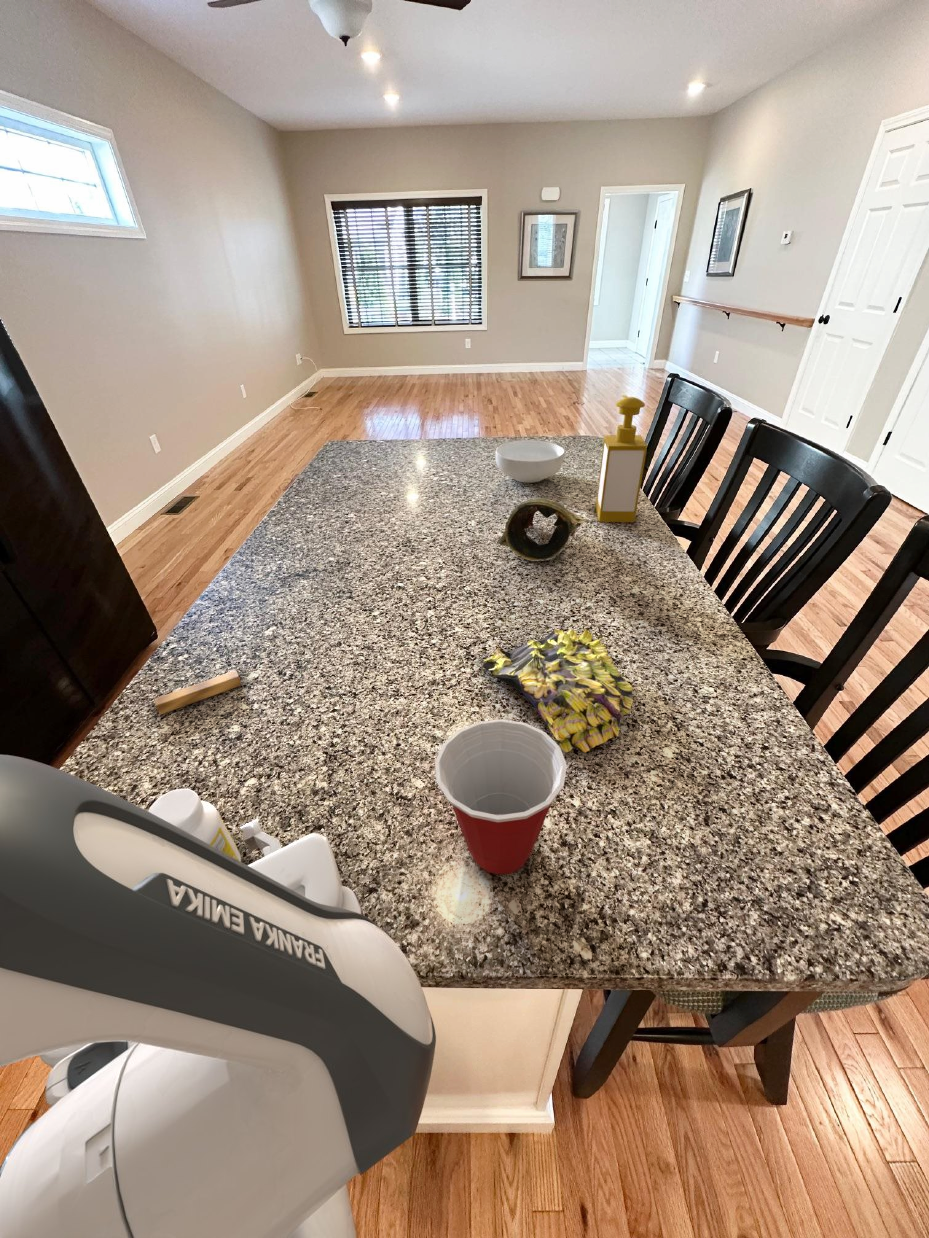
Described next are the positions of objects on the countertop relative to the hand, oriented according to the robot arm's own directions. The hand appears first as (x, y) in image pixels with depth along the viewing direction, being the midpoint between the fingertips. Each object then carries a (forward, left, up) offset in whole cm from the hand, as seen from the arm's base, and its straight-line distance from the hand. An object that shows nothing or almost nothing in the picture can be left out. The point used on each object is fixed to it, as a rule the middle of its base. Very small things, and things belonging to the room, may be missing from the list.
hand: (193, 853), depth 43 cm
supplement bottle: (0, +2, -6) cm, 6 cm away
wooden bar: (+3, +28, -5) cm, 28 cm away
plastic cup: (+24, -10, -6) cm, 27 cm away
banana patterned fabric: (+42, +3, -6) cm, 43 cm away
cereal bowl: (+87, +68, -6) cm, 110 cm away
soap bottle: (+89, +41, -6) cm, 98 cm away
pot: (+65, +35, -6) cm, 74 cm away
